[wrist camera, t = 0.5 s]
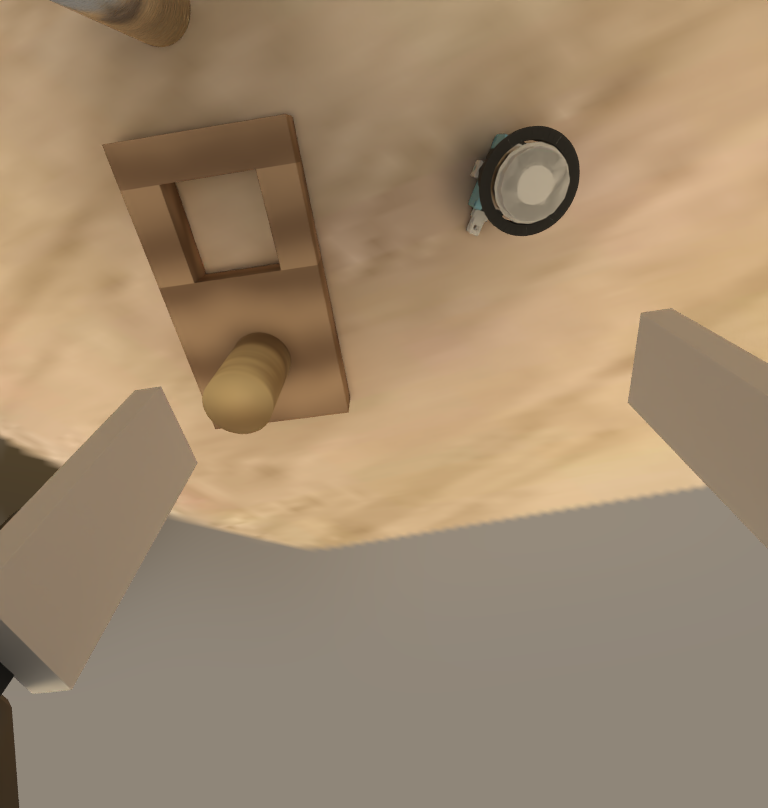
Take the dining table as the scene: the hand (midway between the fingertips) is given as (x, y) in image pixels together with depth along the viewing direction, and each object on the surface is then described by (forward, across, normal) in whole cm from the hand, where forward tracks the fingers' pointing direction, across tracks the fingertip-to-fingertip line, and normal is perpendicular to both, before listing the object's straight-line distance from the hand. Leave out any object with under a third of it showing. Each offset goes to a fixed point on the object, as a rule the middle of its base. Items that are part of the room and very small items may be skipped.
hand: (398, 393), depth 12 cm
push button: (+25, +8, +2) cm, 26 cm away
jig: (+25, -11, -2) cm, 27 cm away
